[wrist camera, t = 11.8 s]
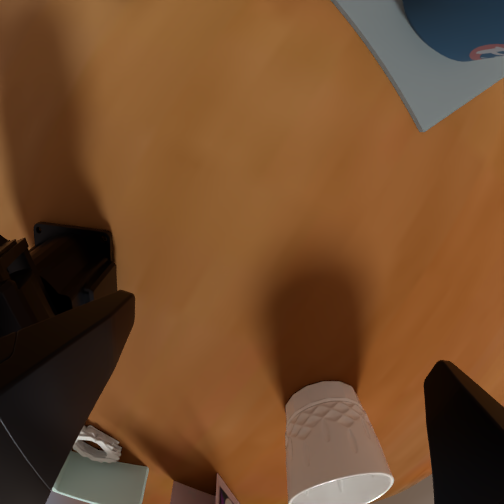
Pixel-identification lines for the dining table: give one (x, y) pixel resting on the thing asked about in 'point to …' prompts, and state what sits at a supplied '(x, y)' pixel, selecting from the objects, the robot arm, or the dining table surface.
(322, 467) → the white cup
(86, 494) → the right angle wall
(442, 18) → the soda can
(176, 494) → the pink printed box
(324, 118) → the dining table surface
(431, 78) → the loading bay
